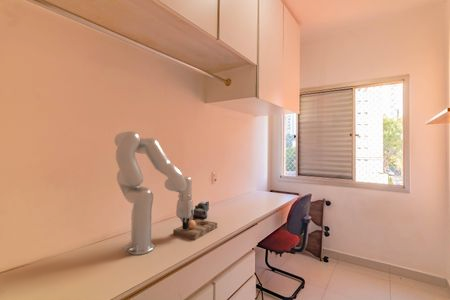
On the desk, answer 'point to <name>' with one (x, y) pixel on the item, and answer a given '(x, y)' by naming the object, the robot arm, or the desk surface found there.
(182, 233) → the board
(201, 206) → the lucky cat figurine
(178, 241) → the desk surface
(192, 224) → the ball
